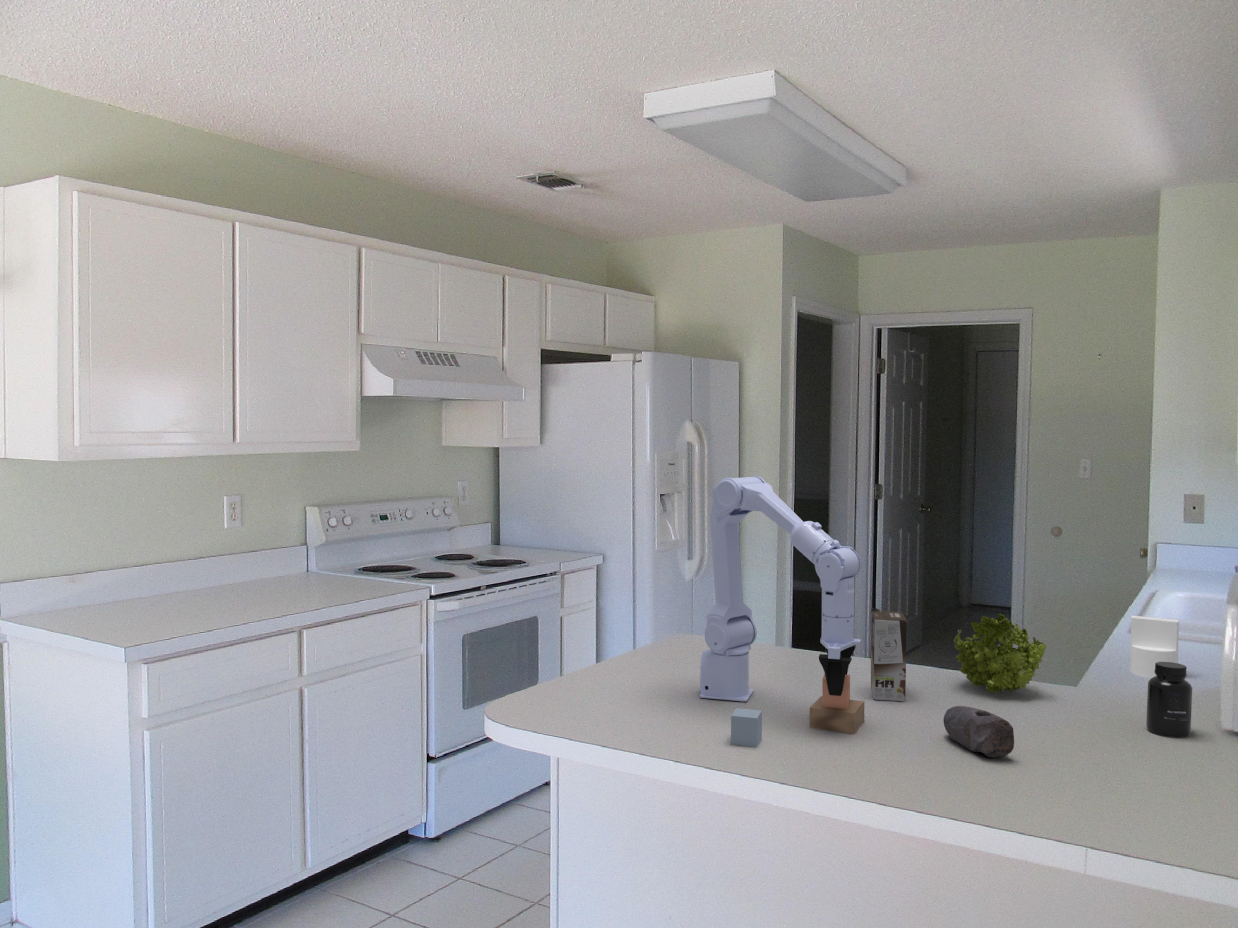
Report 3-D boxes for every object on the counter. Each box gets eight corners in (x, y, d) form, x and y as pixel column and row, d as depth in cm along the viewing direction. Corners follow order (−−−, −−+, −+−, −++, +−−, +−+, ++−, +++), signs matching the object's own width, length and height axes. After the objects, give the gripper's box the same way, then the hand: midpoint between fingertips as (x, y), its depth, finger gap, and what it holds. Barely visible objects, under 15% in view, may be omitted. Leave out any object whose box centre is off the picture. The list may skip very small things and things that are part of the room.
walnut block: (809, 729, 171) (809, 707, 171) (821, 717, 178) (821, 695, 178) (854, 735, 168) (854, 713, 167) (864, 722, 175) (864, 701, 175)
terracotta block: (822, 706, 171) (822, 679, 171) (824, 699, 176) (825, 672, 176) (847, 708, 170) (848, 681, 170) (849, 701, 174) (850, 674, 174)
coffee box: (906, 701, 186) (907, 620, 186) (872, 700, 188) (873, 618, 187) (902, 688, 195) (903, 610, 194) (870, 687, 197) (870, 609, 196)
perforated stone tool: (933, 735, 167) (933, 696, 166) (958, 732, 168) (959, 694, 168) (990, 765, 152) (990, 722, 152) (1017, 762, 154) (1018, 719, 153)
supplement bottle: (1175, 740, 163) (1177, 671, 163) (1137, 729, 169) (1139, 662, 169) (1199, 734, 167) (1201, 666, 166) (1161, 723, 173) (1163, 657, 172)
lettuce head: (1069, 669, 192) (1048, 628, 183) (1017, 724, 191) (994, 686, 181) (998, 624, 207) (976, 584, 197) (949, 675, 205) (925, 637, 196)
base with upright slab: (1178, 671, 207) (1179, 617, 207) (1176, 681, 200) (1178, 624, 199) (1131, 666, 212) (1132, 612, 212) (1128, 675, 205) (1129, 620, 204)
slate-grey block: (730, 744, 163) (731, 715, 162) (736, 736, 167) (736, 708, 167) (757, 747, 161) (757, 718, 161) (761, 738, 165) (761, 710, 165)
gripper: (857, 624, 164) (857, 702, 165) (863, 608, 178) (862, 680, 178) (816, 621, 166) (815, 698, 167) (824, 606, 180) (824, 677, 181)
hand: (837, 689), depth 173 cm, fingers open, 7 cm apart
